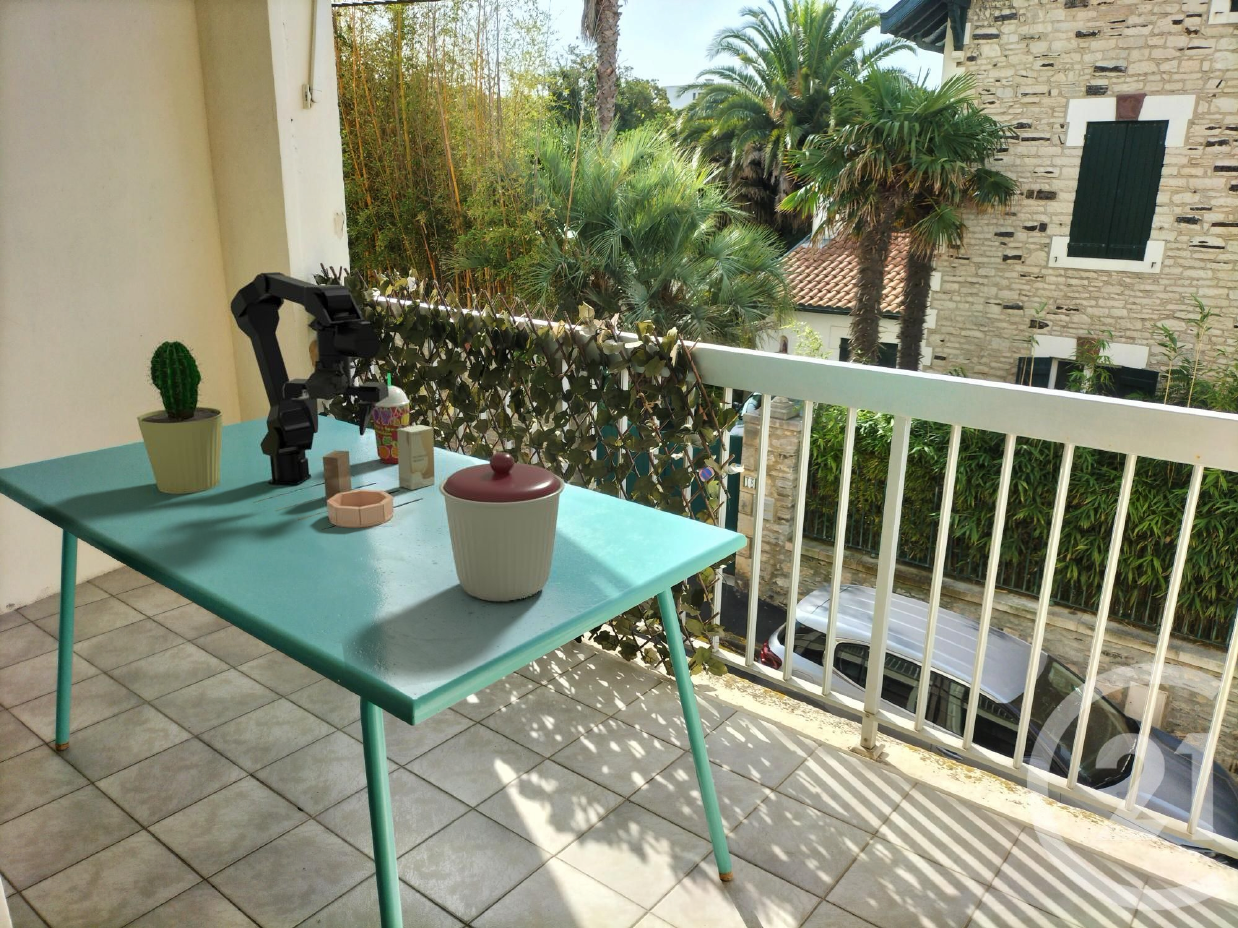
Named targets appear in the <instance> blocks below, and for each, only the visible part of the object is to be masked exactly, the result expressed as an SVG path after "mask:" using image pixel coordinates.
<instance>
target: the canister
mask: <svg viewBox="0 0 1238 928" xmlns="http://www.w3.org/2000/svg"><path fill="white" fill-rule="evenodd" d="M564 489H565V482H564V480H563V479H562V478H561V477H560V476H558V475H556V474H555V473H553V472H551V471H549V470H548V469H545V468H544V467H540V466H537V465H534V464H528V463H519V462H517V463H516V462H515V459H514V457H513V456H512V455H511V454H510V453H508V452H503V451H502V452H497V453H494V454H493V455H492V456H491V457H490V458H489V463H483V464H477V465H473V466H472V465H471V466H468V467H465V468H464V467H463V469H460V470H457V471H455V472H453V473H452V474H451V475H449V476H448V477H446V478H444V479H443V480H442V481H441V482H440V484H439V485H438V490H439V492H440V495H442V496H443V497H444V504H445V511H446V516H447V524H448V530H449V536H450V537H449V538H450V545H451V550H452V554H453V560H454V565H455V571H456V572H455V573H456V575H457V579H458V582H459V584H460V586H461V587H462V589H463V590H464V591H465V592H466V593H467V594H468V595H470V596H472V597H474V598H477V599H480V600H483V601H488V602H500V601H502V602H510V601H509V600H514V601H516V600H515V599H520V600H522V599H521V598H524V597H526V598H528V597H527V596H530V595H531V596H533V595H532V594H534V595H536V594H537V592H538V591H539V592H540V591H541V590H542V589H544V587H545V585H546V584H547V582H548V580H549V578H550V577H549V576H550V573H551V567H552V562H553V555H554V550H555V549H554V548H555V540H556V531H557V524H558V523H557V522H558V516H559V515H558V514H559V508H560V507H559V504H560V495H561V494H562V492H563V491H564ZM539 592H538V593H539ZM535 593H536V594H535ZM531 596H530V597H531ZM524 599H525V598H524Z"/></svg>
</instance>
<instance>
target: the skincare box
mask: <svg viewBox="0 0 1238 928" xmlns="http://www.w3.org/2000/svg"><path fill="white" fill-rule="evenodd" d="M397 434H398V463H397V464H398V486H399V487H401V488H405V489H408V490H411V491H412V490H416V489H421V488H425V487H428V486H433V485H435V447H434V446H435V444H434V442H435V441H434V440H435V439H434V427H431V426H427V425H422V424H416V425H412V426H410V425H409V427H406V428H401V429H397Z"/></svg>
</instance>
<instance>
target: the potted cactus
mask: <svg viewBox="0 0 1238 928" xmlns="http://www.w3.org/2000/svg"><path fill="white" fill-rule="evenodd" d="M157 342H158V344H159V346H155V347H153V350H152V351H150V352H151V354H152V357H150V358H147V360H148V361H150V364H148V365H149V366H146V367H147V368H148V372H150V373H149V374H146V377H147V378H148V377H149V379H147V380H146V382H149V381H150V382H149V383H148V384H150V385H153V386H154V388H156V389H155V391H157V390H158V392H157V394H158V395H159V396H158V397H159V398H157V400H158V399H160V398H161V400H160V401H162V403H161V406H162V405H163V408H161V409H155V410H151V411H147V412H144V413H142V414H139V415H138V416H137V417H136V419H137V423H138V428H139V431H140V434H141V437H142V439H143V443H144V446H145V450H146V453H147V456H148V460H149V463H150V466H151V470H152V472H153V473H152V474H153V476H154V479H155V482H156V486H157V489H158V491H160V492H162V493H165V494H172V495H173V494H174V495H175V494H176V495H181V494H191V493H192V494H193V493H198V492H204V491H207V490H211V489H214V488H216V487H217V486H219V484H220V480H221V478H220V477H221V459H222V458H221V457H222V441H223V439H222V438H223V416H224V415H223V414H224V410H223V409H220V408H216V407H209V406H198V403H200V400H199V396H202V394H201V393H200V394H199V391H201V388H200V387H199V385H200V383H202V384H204V381H203V378H202V376H201V372H200V370H199V367H200V365H201V363H199V364H198V365H197V363H196V362H197V359H196V356H193V354H192V351H193V349H191V347H187V346H190V345H189V344H187V346H186V344H185V343H183V340H182V341H181V340H180V341H178V340H173V341H168V340H167V341H164V340H163V342H160V341H157ZM153 351H154V352H153ZM160 401H158V403H160ZM201 403H203V404H204V402H202V401H201Z"/></svg>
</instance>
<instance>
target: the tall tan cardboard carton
mask: <svg viewBox="0 0 1238 928" xmlns="http://www.w3.org/2000/svg"><path fill="white" fill-rule="evenodd" d="M350 463H351V461H350V451H349V450H335V449H334V450H333V451H331V452H329V453H326V455H323V456H322V467H323V478H324V491H325V502H326V503H327V500H329V499H330V498H332V497H333V496H335V495H336V494H338V493H343V492H349V491H353V490H352V478H351V464H350Z"/></svg>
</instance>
